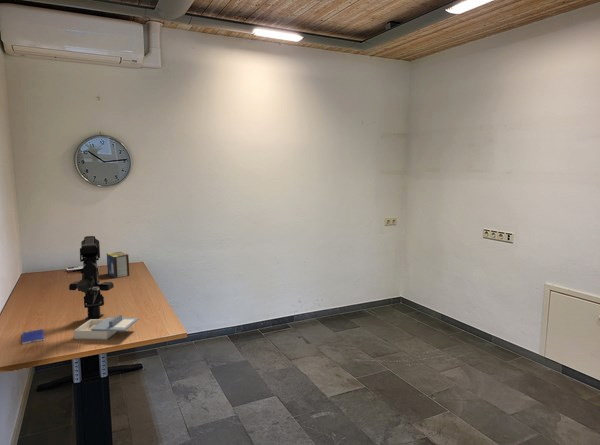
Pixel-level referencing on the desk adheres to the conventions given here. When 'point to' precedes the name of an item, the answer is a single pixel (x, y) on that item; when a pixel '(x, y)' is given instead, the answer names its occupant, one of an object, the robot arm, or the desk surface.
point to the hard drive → (32, 336)
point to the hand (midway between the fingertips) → (92, 303)
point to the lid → (115, 324)
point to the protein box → (118, 264)
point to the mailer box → (86, 332)
